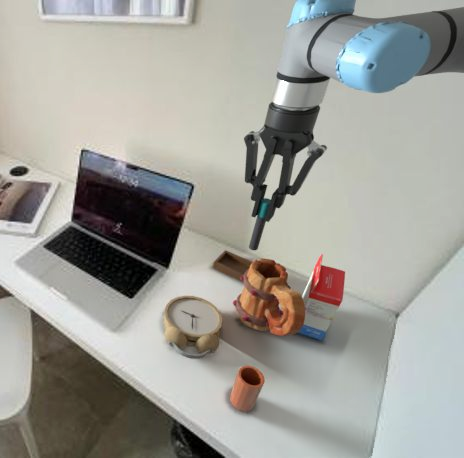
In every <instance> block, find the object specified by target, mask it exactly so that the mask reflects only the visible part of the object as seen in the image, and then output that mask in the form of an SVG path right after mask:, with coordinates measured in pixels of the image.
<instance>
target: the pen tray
mask: <svg viewBox="0 0 464 458" xmlns="http://www.w3.org/2000/svg"><path fill="white" fill-rule="evenodd" d="M252 262H253V261H251V260H249V259H247V258H245V257H243V256H240V255H237V254H235V253H233V252H230V251H228V250H227V249H226V250H225V249H224V250H223V251H222V253H221V254H220V255H219V256H218V257H217V258H216V259H215V260H214V261H213V264H212V265H213V266H212V269H214V270H215V271H218V272H220V273H222V274H223V275H225V276H229V277H230V278H233V279H235V280H237V281H239V282H241V283H243V282H242V281H241V280H240V277H241V276H244V274H245V272H246V271H247V270H248V269H249V268H250V266H251V264H252Z"/></svg>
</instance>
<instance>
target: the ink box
mask: <svg viewBox="0 0 464 458" xmlns="http://www.w3.org/2000/svg"><path fill="white" fill-rule="evenodd" d="M323 257H324V254H323V253H321V254H320V256H319V257H318V259H317V262H316V264H315V266H314V267H313V270H312V273H311V274H310V277H309V279H308V282H307V284H306V287H305V288H304V291H303V293H302V294H301V296H302V298H303V300H304V306H305V320H304V325H303V326H302V328H301V329H300V330H299V331H298V332H297V333H298V334H301V335H304V336H307V337H310V338H313V339H316V340H318V341H322V340H323V338H324V336H325V335H326V333H327V331H328V330H329V327H330V325H331V323H332V322H333V319H334V317H335V315H336V313H337V311H338V310H339V308H340V307H341V304H342V302H343V299H344V289H345V280H346V271H345V270H343V269H338V268H335V267H331V266H327V265H323V264H322V262H323Z"/></svg>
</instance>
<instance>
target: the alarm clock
mask: <svg viewBox="0 0 464 458" xmlns="http://www.w3.org/2000/svg"><path fill="white" fill-rule="evenodd" d="M163 315H164V316H163V327H164V329H165V331H164V334H163V335H164V339H165V341H166V343H167V345H169V346H170V347H172V348H173V349H174V350H175V351H176V352H177V353H178V354H179V355H181V356H182V357H185V358H187V359H191V360H192V359H193V360H199V359H202V358H205V357H206V356H207V355H211V354H214V353H215V352H216V351H217V350H218V349H219V347H220V339H219V337H220V333H221V328H222V323H223V317H222V313H221V311H219V309H218V308H217V306H215V305H214V304H213V303H212V302H210V301H209V300H207V299H205V298H202V297H199V296H195V295H179V296H177V297H174V298H172V299H170V300H169V302H167V304H166V305H165V308H164V314H163ZM186 346H188V347H191V348H195V349H196V350H197V352H198V353H199V354H193V353H188V352H185V351H183V350H182V349H183V348H185V347H186Z"/></svg>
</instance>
